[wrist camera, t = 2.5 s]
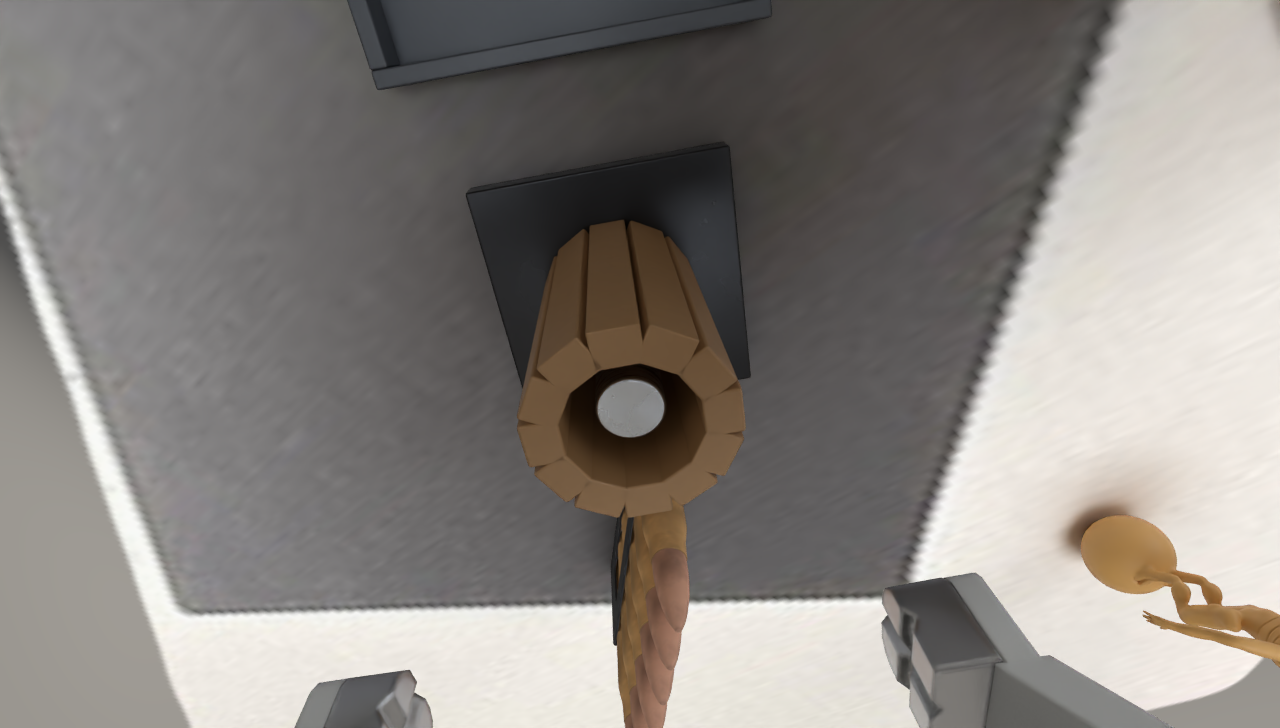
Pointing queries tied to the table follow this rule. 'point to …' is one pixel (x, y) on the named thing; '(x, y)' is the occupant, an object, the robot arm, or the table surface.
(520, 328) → the stand
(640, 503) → the wooden pen holder
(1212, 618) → the figurine
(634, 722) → the ammunition clip
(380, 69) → the desk tray
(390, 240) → the table surface
